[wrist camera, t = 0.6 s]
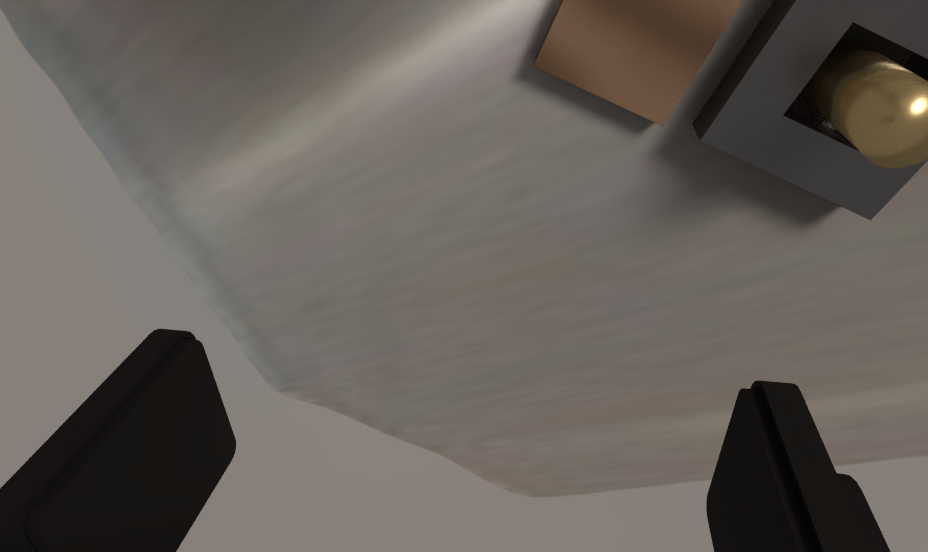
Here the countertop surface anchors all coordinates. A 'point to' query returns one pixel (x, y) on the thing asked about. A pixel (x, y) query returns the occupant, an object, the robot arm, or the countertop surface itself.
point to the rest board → (634, 48)
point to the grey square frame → (782, 79)
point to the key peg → (873, 104)
